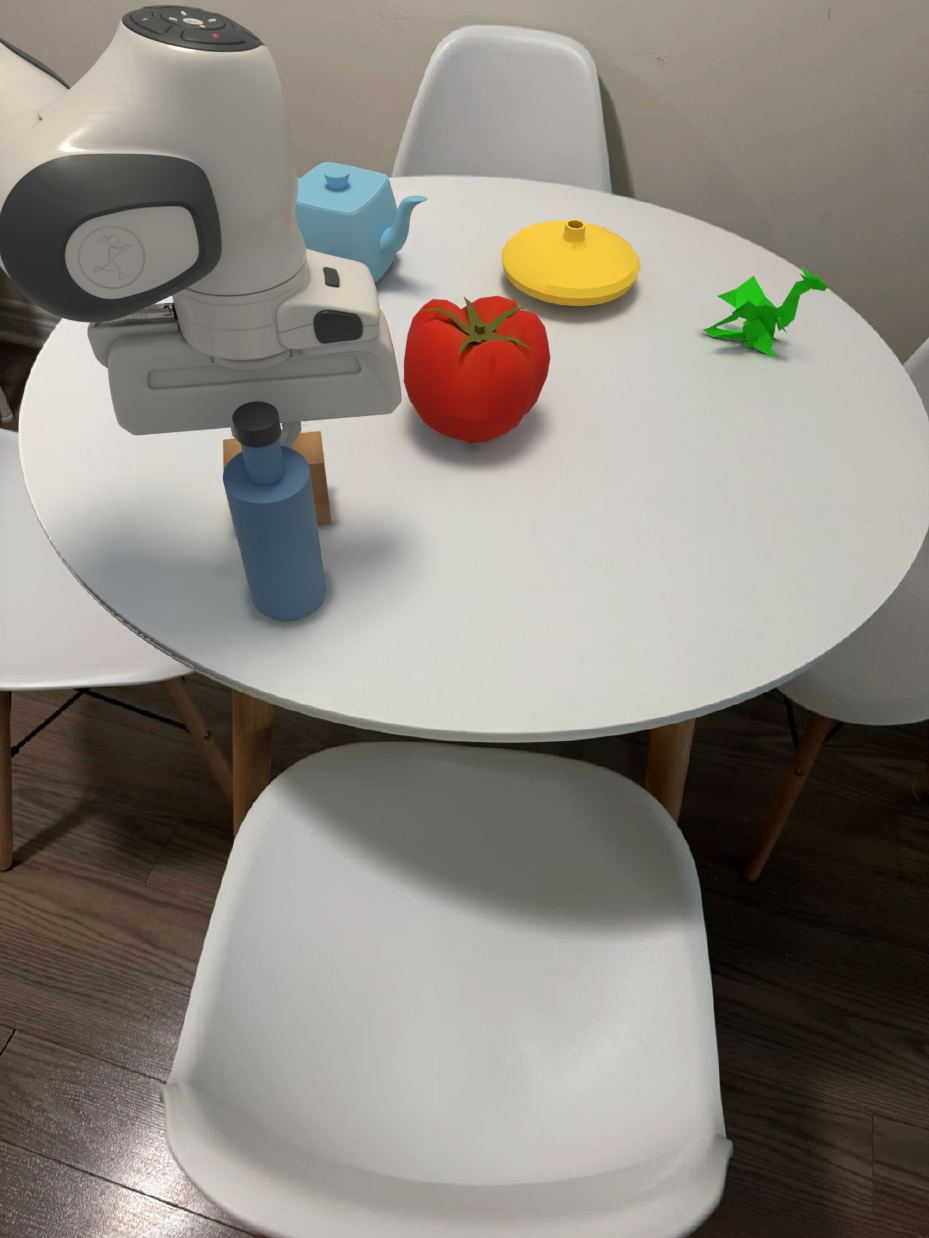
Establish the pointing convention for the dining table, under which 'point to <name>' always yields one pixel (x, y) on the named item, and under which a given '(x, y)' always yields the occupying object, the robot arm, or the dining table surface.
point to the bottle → (274, 517)
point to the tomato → (475, 366)
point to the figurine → (762, 312)
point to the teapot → (353, 215)
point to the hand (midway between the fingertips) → (273, 459)
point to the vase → (570, 263)
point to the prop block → (313, 453)
